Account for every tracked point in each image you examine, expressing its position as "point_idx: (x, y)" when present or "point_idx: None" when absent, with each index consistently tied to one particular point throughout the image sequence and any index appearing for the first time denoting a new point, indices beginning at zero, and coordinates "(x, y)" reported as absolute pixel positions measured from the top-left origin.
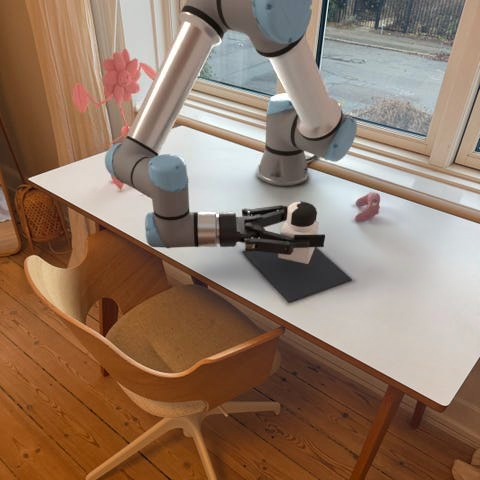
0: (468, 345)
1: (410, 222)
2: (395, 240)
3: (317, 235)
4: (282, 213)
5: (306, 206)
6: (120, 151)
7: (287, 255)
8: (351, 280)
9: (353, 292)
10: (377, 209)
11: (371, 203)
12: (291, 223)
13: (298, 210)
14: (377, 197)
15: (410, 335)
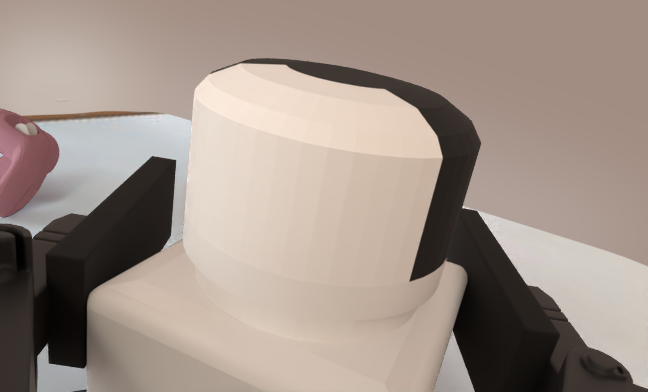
0: (593, 250)
1: (105, 154)
2: (177, 197)
3: (477, 230)
4: (30, 313)
5: (350, 70)
6: None
7: None
8: None
9: (464, 365)
10: (53, 141)
11: (17, 130)
12: (417, 270)
13: (427, 103)
14: (4, 110)
15: (622, 314)
